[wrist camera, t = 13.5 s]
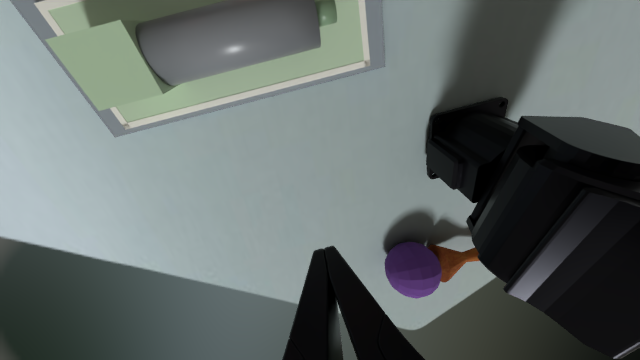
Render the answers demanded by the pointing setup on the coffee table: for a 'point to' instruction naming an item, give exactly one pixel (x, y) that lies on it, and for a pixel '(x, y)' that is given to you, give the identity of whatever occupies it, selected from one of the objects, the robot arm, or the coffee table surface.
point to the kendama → (423, 267)
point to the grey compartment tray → (226, 88)
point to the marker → (187, 46)
